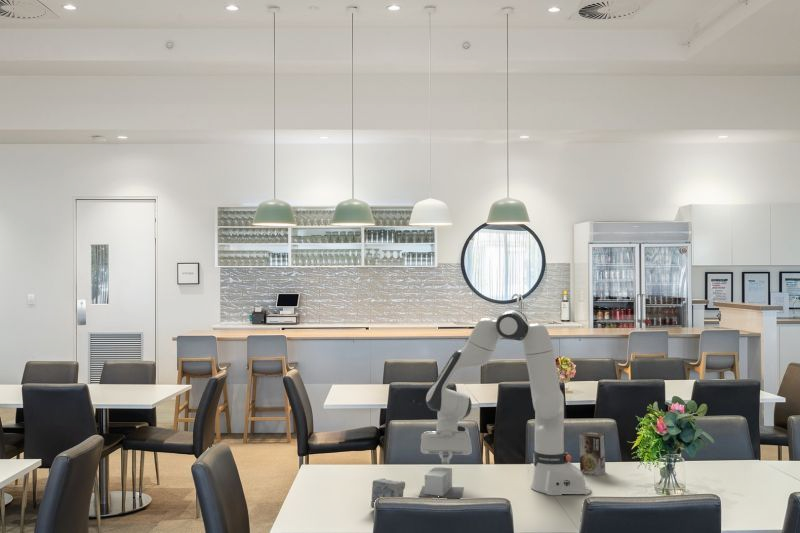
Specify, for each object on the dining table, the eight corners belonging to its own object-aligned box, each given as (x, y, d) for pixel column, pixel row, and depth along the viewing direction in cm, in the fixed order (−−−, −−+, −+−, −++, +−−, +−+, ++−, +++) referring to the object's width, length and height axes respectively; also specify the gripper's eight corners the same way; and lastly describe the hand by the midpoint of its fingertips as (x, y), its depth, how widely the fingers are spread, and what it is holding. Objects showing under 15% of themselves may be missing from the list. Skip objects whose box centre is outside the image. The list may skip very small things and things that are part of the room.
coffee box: (605, 472, 295) (605, 433, 295) (601, 476, 289) (600, 436, 290) (584, 469, 300) (583, 431, 300) (579, 473, 294) (578, 434, 294)
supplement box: (434, 485, 278) (423, 494, 266) (434, 466, 278) (424, 474, 266) (452, 487, 275) (442, 496, 263) (452, 468, 275) (442, 476, 263)
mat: (463, 488, 274) (463, 487, 274) (461, 498, 262) (461, 497, 262) (422, 486, 277) (422, 485, 277) (418, 497, 264) (418, 496, 264)
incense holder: (405, 508, 252) (405, 478, 252) (395, 515, 244) (394, 485, 245) (381, 504, 256) (381, 475, 257) (370, 511, 249) (370, 481, 249)
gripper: (420, 427, 284) (417, 457, 274) (471, 428, 281) (470, 459, 271) (422, 435, 288) (419, 466, 279) (472, 437, 285) (471, 467, 275)
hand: (445, 462), depth 275 cm, fingers closed
